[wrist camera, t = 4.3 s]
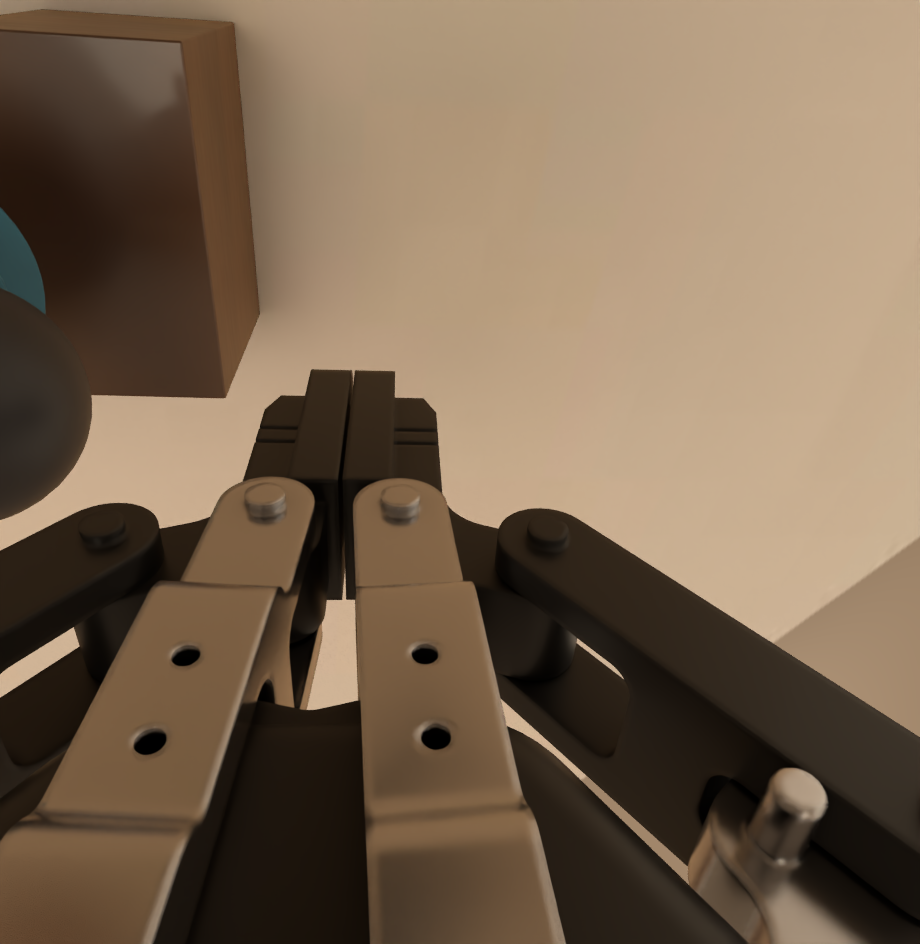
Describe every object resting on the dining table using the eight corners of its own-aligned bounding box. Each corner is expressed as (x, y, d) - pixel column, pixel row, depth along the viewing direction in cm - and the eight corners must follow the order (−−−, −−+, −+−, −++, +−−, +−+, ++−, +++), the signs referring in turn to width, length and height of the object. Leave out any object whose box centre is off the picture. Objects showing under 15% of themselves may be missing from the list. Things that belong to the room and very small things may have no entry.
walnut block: (103, 309, 30) (29, 394, 24) (40, 9, 24) (-76, 24, 18) (260, 314, 30) (225, 399, 24) (234, 22, 24) (182, 40, 19)
